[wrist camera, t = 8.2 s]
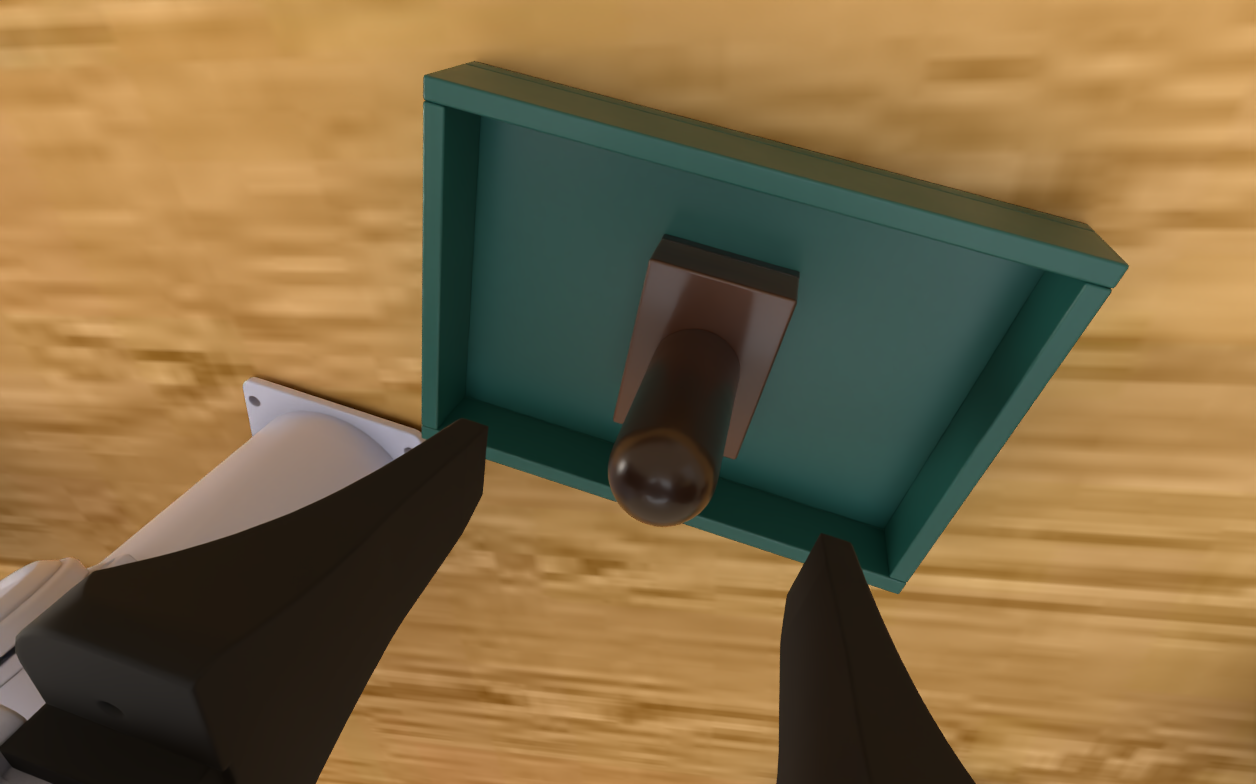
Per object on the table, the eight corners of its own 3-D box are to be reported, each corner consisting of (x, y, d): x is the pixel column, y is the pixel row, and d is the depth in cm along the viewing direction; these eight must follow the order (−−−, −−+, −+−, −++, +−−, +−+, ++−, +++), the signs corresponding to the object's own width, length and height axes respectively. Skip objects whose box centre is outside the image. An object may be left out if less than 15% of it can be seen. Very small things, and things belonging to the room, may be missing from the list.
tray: (891, 533, 23) (899, 595, 21) (457, 394, 25) (420, 438, 22) (1089, 223, 16) (1131, 266, 14) (473, 60, 18) (422, 74, 16)
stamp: (742, 424, 21) (707, 617, 15) (627, 388, 22) (546, 562, 15) (800, 271, 18) (787, 436, 12) (664, 232, 19) (580, 372, 12)
